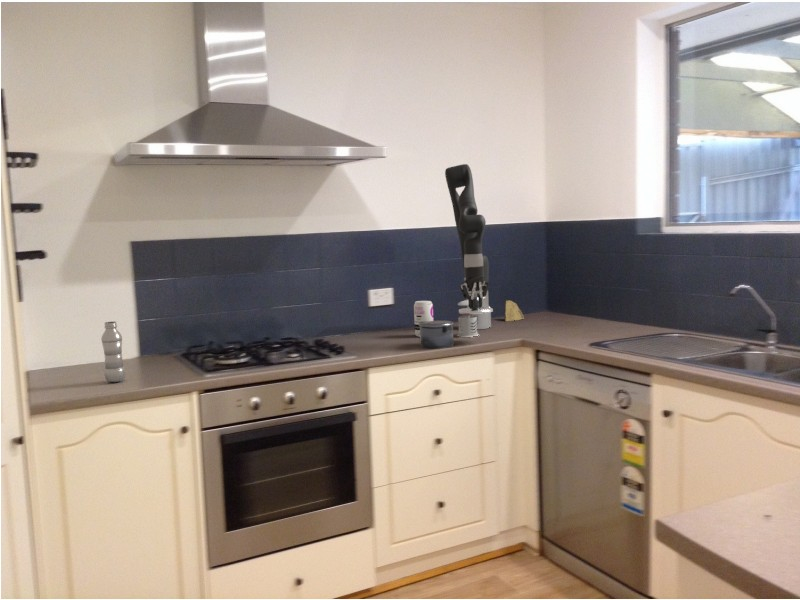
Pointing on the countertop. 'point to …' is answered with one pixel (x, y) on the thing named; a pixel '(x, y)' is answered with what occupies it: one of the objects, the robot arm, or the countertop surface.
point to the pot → (436, 334)
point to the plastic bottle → (113, 353)
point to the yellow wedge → (512, 311)
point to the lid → (476, 308)
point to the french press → (467, 322)
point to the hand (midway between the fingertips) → (475, 307)
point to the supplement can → (422, 314)
